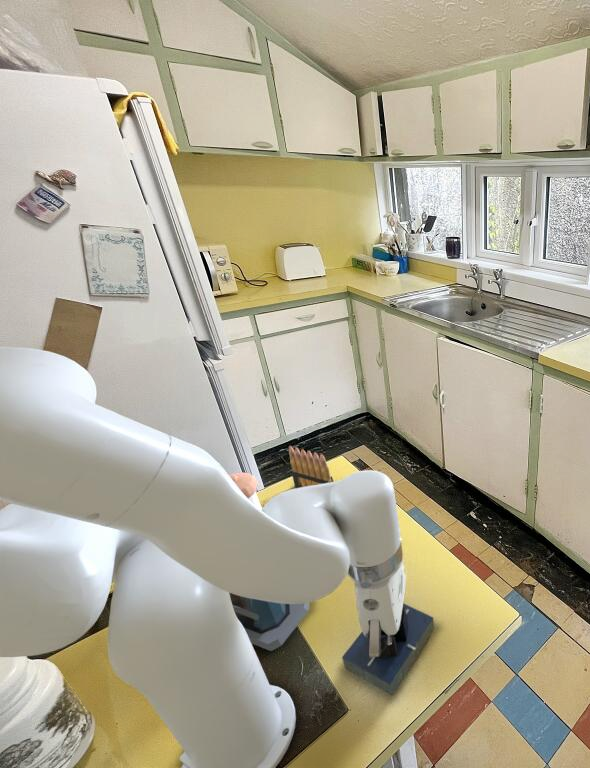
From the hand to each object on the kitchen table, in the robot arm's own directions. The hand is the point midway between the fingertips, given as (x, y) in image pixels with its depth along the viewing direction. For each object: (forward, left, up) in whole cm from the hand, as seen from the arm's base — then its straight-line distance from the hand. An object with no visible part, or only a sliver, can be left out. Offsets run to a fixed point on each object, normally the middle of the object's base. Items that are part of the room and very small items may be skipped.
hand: (389, 634), depth 64 cm
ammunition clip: (+22, +40, -4) cm, 46 cm away
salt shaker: (+4, +36, -4) cm, 36 cm away
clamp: (-6, +34, -4) cm, 35 cm away
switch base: (0, 0, -3) cm, 3 cm away
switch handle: (0, 0, 0) cm, 0 cm away
